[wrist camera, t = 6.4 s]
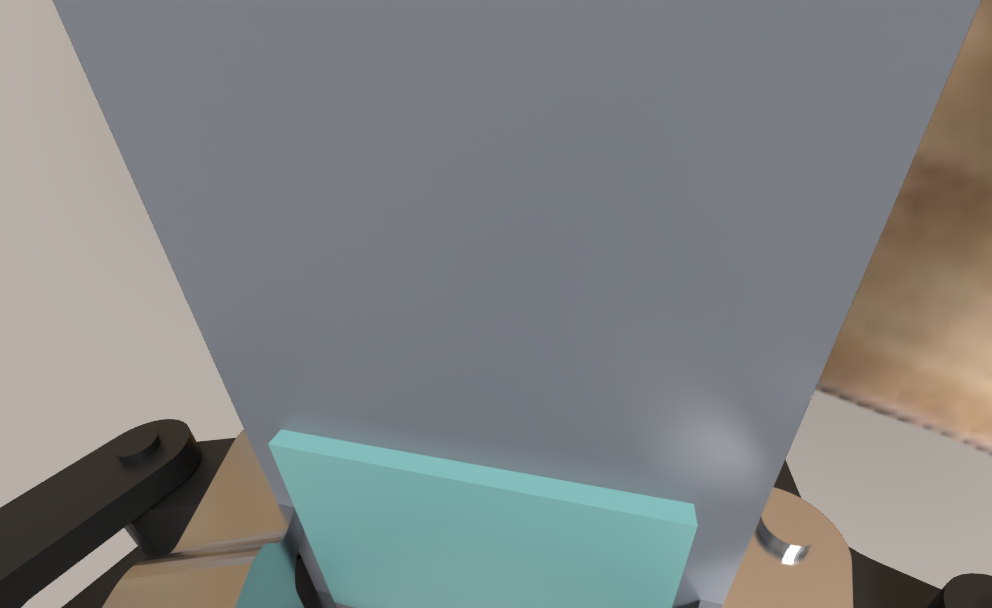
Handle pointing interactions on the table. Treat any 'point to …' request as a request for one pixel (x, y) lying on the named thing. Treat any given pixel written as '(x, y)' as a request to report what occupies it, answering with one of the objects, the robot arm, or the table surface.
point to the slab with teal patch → (519, 262)
